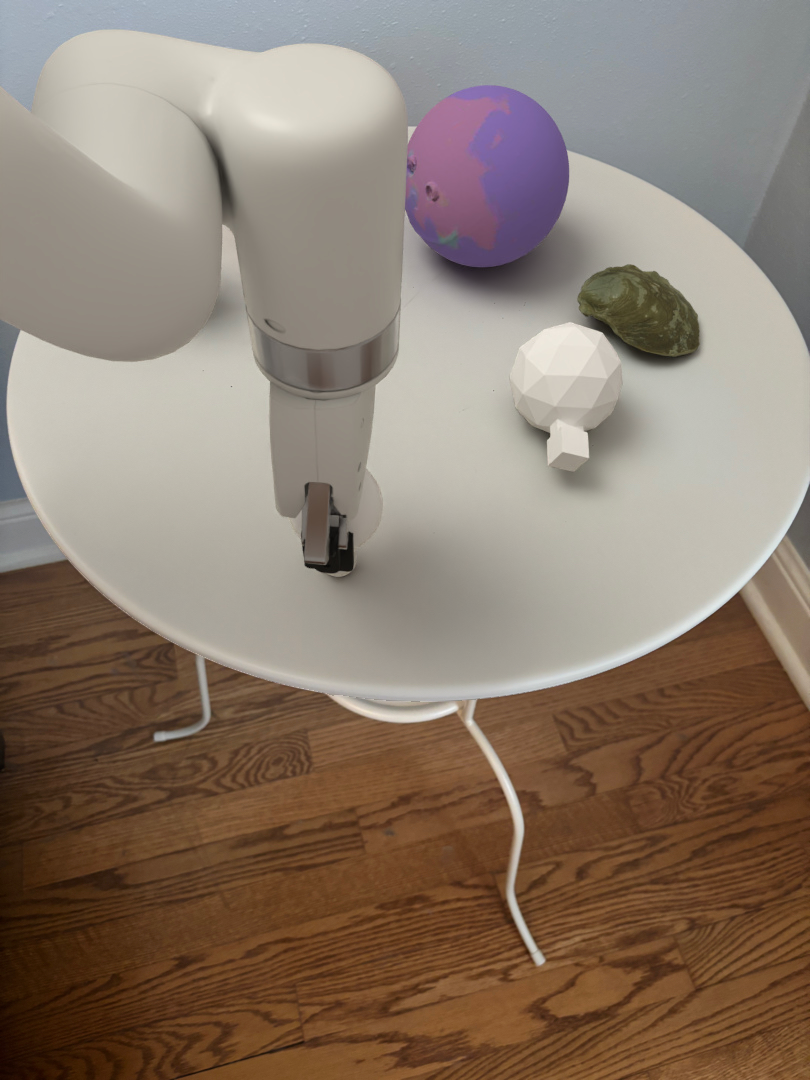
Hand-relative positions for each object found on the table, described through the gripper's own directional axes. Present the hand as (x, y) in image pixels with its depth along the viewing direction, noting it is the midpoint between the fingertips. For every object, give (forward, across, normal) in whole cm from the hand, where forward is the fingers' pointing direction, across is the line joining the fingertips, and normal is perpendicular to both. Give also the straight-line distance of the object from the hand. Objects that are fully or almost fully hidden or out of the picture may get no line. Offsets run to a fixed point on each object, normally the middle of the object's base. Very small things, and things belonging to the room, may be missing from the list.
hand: (336, 520), depth 57 cm
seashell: (+6, -28, +24) cm, 37 cm away
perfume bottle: (+6, -15, +16) cm, 23 cm away
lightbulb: (+6, 0, 0) cm, 6 cm away
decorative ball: (+6, -37, +9) cm, 39 cm away
